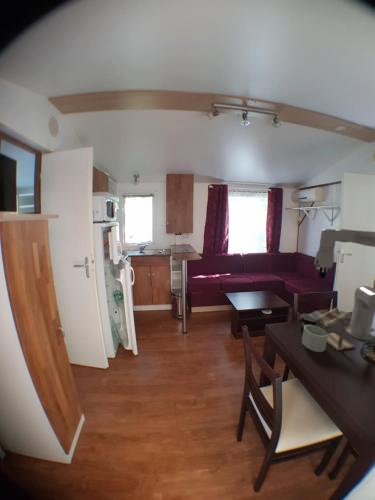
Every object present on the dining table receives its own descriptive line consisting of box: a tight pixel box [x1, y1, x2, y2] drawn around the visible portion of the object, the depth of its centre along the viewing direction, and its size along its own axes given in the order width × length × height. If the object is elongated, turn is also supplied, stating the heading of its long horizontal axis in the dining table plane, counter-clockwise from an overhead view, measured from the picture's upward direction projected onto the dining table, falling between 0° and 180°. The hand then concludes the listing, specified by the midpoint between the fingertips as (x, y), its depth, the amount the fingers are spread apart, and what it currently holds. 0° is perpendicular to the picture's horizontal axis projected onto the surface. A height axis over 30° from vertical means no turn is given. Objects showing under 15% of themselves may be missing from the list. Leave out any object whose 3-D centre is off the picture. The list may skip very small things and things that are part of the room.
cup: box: [301, 325, 328, 353], centre depth 106 cm, size 11×11×10 cm
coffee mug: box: [297, 313, 318, 333], centre depth 120 cm, size 12×9×10 cm
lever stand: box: [321, 310, 355, 351], centre depth 108 cm, size 12×13×17 cm
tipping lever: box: [307, 307, 352, 328], centre depth 109 cm, size 17×14×6 cm
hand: (321, 277), depth 118 cm, fingers closed
